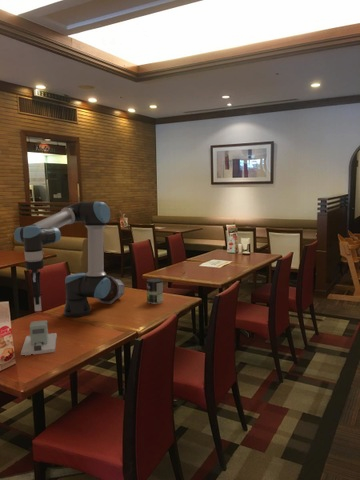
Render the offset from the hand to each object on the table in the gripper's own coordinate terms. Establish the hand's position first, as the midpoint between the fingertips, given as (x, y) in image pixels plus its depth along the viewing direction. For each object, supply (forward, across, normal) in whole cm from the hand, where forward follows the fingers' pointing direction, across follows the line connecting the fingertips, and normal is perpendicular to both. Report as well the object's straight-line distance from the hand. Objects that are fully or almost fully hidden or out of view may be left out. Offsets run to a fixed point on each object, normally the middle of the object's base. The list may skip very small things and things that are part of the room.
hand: (38, 310), depth 178 cm
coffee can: (+18, +53, -65) cm, 85 cm away
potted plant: (+18, +58, -34) cm, 69 cm away
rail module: (+15, 0, 0) cm, 15 cm away
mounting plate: (+17, 0, 0) cm, 17 cm away
